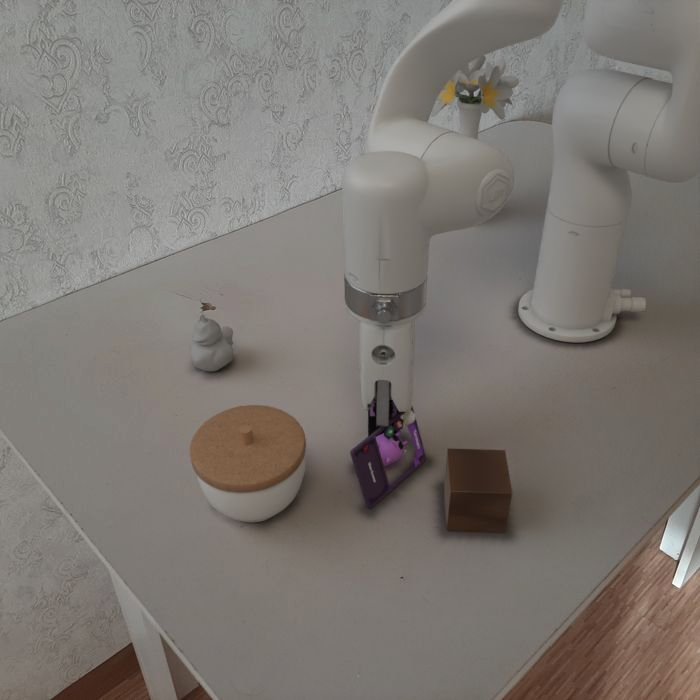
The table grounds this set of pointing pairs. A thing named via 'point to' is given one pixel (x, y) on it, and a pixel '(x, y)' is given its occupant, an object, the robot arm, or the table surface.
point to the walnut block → (477, 490)
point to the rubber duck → (211, 345)
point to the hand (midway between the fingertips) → (383, 435)
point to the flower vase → (489, 96)
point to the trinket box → (249, 461)
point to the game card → (385, 457)
